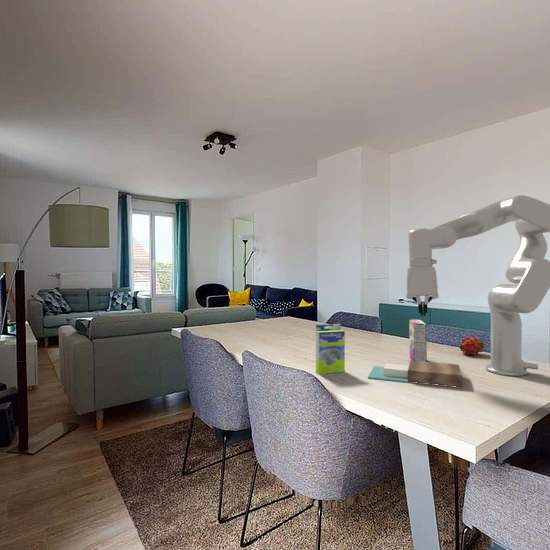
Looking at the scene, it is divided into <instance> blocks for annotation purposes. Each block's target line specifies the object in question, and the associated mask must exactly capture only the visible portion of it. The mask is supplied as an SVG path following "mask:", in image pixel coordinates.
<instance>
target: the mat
mask: <svg viewBox="0 0 550 550" xmlns="http://www.w3.org/2000/svg"><path fill="white" fill-rule="evenodd" d="M383 368H384V366H375V365H374V366H373V367H372V369H371V371H370V372H369V373H368V376H367V379H368V380H369V379H371V380H379V381H388V382H389V381H390V382H397V381H399V382H398V383H406V382H408V378H402V377H393V376H384V375H383ZM408 383H409V382H408Z"/></svg>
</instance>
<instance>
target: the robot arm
mask: <svg viewBox="0 0 550 550" xmlns="http://www.w3.org/2000/svg"><path fill="white" fill-rule="evenodd" d="M511 222H514V223H515V224H514V225H515V226H514V227H515V230H516V232H517V234H518V236H519V239H520V242H519V247H518V248H517V251H516V252H515V254H514V256H513V258H512V259H511V261H510V262H509V265H508V267H507V269H506V271H505V278H506V280H507V281H508V282H509V284H508V283H507V284H506V283H503V284H501V283H500V284H497V285H495V286H492V288H491V289H490V290H489V292H488V295H487V302H488V307H489V308H488V309H489V313H490V314H489V315H490V363H489V364H486V365H485V369H486V371H488V372H491V373H493V374H497V375H503V376H512V377H516V376H517V377H519V376H520V377H521V376H526V375H527V374H528V371H527V370H528V369H530V370H539V369H538V368H539V364H537V363H532V362H525V361H524V360H523V359H522V358H523V356H522V355H523V353H522V350H523V348H522V347H523V346H522V342H523V341H522V340H523V339H522V338H523V335H522V334H523V332H522V331H523V324H522V319H521V316H520V314H529V313H533V312H535V311H536V310H537V309H538V307H539V306H540V305H541V303H542V302H543V300H544V298H545V297H546V295H547V293H548V292H549V289H550V260H548V259H547V258H545V257H546V255H547V252H548V243H547V240H546V238H545V235H544V234H545V233H550V204H549V203H547V202H544V201H542V200H539V199H537V198H534V197H531V196H528V195H524V194H523V195H522V194H521V195H514V196H511V197H507V198H502V199H501V200H498V201H495V202H493V203H490V204H488V205H485V206H482V207H481V208H478V209H475V210H473V211H471V212H468V213H466V214H463V215H462V216H458V217H457V218H455V219H454V218H453V219H452V220H449V221H447V222H444V223H442V224H439V225H437V226H435V227H432V228H416V229H411V230H409V231H408V236H407V237H408V251H409V252H408V254H409V255H408V256H409V268H407V272H406V299H408V300H412V301H414V302H415V303H416V304H417V305H418V306H417V308H418V314H420V316H421V317H422V316H424V317H425V316H426V314H428V304H429V303H430V302H431V301H432V300H436V299H439V298H440V296H439V293H438V291H439V287H438V277H437V271H436V268H435V267H434V266H433V265H436V264H437V263H438V261H437V259H434V258H433V251H432V250H441V249H448V248H450V247H452V246H454V245H455V244H456V242H457V240H461V239H465V238H471V237H475V236H477V235H481V234H484V233H486V232H489V231H491V230H493V229H496V228H498V227H501V226H503V225H505V224H508V223H511ZM510 283H511V284H510ZM421 296H422V297H423V296H424V301H423V302H422V300H421Z"/></svg>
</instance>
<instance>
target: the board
mask: <svg viewBox="0 0 550 550" xmlns="http://www.w3.org/2000/svg"><path fill="white" fill-rule="evenodd" d="M408 366H409V368H408V383H410V382H417V383H416V384H419V383H429V384H438V385H447V386H456V387H462V388H463V374H462V371H461V367H460V364H457V363H456V364H455V363H446V362H444V363H443V362H433V361H427V362H423V361H412V360H411V359H410V361H409V364H408ZM429 384H428V385H429ZM438 385H437V386H438ZM447 386H446V387H447ZM456 387H455V388H456Z"/></svg>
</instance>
